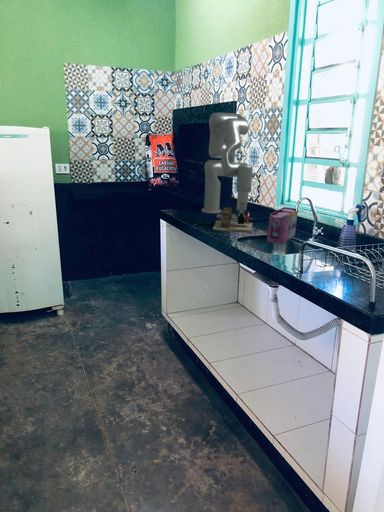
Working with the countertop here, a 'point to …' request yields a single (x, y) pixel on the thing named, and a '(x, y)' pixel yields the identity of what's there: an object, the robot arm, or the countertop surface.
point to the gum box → (282, 225)
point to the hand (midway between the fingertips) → (240, 222)
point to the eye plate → (231, 223)
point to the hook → (235, 217)
